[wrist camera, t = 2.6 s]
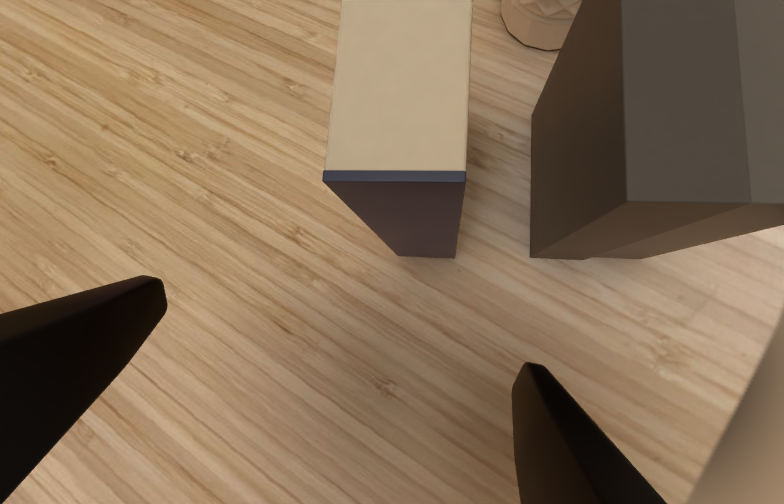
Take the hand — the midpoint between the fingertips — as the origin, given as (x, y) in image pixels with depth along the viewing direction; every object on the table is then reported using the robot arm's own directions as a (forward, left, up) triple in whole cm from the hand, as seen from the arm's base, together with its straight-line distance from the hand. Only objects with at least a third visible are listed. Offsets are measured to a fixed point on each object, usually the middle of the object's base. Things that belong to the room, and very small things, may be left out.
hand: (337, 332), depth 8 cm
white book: (+8, -4, -12) cm, 15 cm away
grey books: (+5, -12, -12) cm, 18 cm away
